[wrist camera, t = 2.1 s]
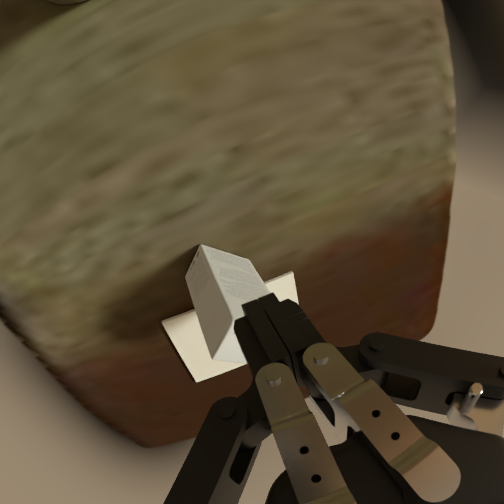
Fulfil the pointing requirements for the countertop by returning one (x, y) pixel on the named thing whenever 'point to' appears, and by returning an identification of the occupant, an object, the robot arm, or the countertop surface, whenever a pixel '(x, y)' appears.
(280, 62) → the countertop surface
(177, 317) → the mat
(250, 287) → the skincare box
